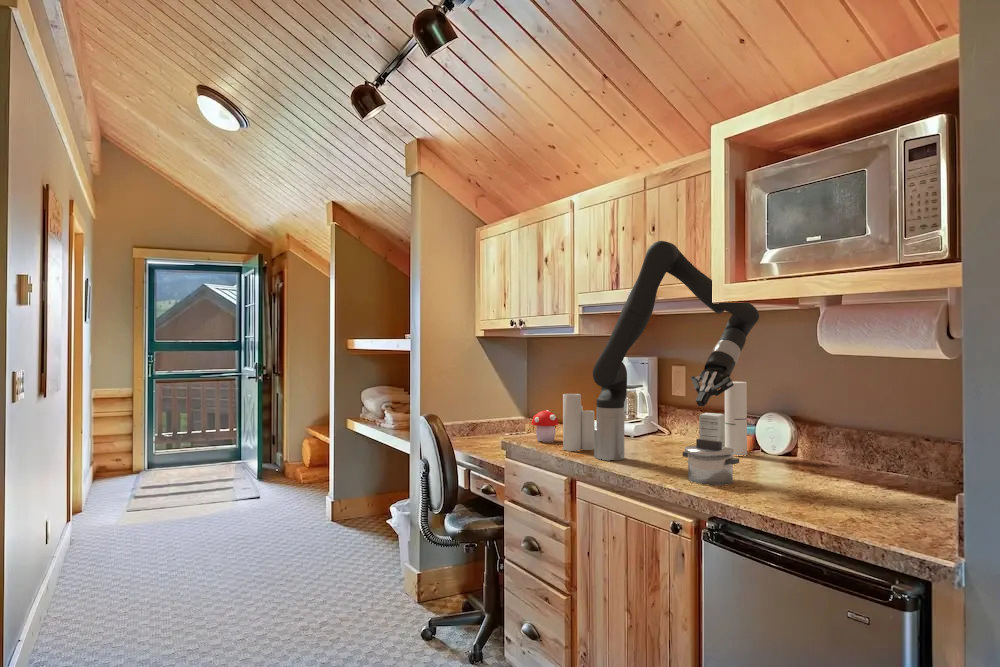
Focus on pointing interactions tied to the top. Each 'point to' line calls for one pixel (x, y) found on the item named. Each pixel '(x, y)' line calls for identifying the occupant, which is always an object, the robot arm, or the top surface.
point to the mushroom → (545, 425)
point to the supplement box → (712, 427)
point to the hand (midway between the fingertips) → (699, 404)
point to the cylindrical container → (736, 418)
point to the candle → (577, 424)
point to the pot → (710, 469)
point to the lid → (708, 448)
